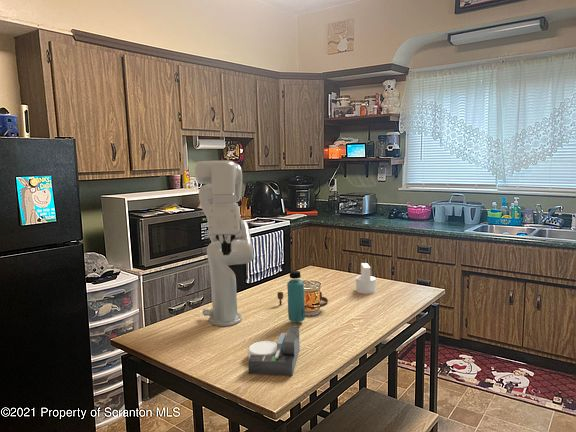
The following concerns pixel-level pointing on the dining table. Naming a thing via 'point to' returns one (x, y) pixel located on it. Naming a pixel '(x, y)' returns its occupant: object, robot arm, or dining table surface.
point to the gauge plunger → (280, 345)
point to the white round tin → (263, 348)
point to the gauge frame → (280, 364)
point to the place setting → (280, 296)
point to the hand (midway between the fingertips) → (226, 254)
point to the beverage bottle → (296, 298)
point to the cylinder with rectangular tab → (365, 280)
